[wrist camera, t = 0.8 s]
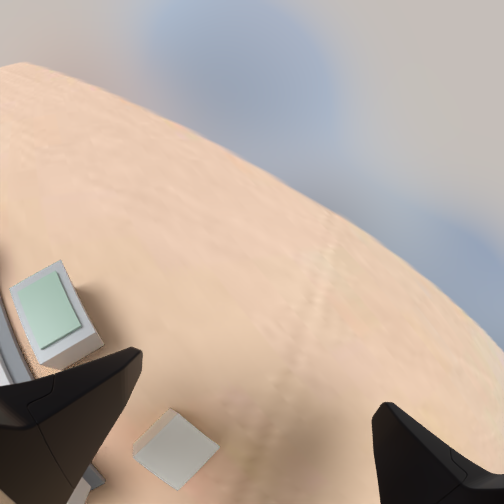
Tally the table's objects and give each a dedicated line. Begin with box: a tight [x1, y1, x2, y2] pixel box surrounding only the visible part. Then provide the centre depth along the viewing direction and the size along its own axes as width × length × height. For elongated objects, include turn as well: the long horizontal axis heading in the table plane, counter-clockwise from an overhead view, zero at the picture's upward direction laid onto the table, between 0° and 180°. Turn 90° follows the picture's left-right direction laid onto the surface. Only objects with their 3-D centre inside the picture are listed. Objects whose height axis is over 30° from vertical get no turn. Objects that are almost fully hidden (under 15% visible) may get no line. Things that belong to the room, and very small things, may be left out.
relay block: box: [133, 408, 220, 491], centre depth 16 cm, size 5×4×5 cm
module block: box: [9, 260, 105, 370], centre depth 17 cm, size 5×6×6 cm
